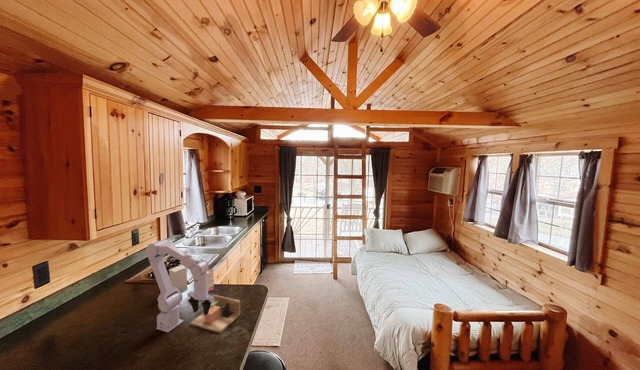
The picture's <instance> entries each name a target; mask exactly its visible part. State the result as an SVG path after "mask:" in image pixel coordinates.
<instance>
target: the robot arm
mask: <svg viewBox="0 0 640 370" xmlns="http://www.w3.org/2000/svg"><path fill="white" fill-rule="evenodd" d="M144 252H145V253H146V256H147V258H148V262H149V263H150V267H151V269H152V271H153V272H152V273H153V274H154V277H155V280H156V283H157V285H158V287H159V291H160V294H159V295H158V297H157V302H158V303H157V305H158V309H159V311H160V313H158V314H157V316H156V329H155V330H159V331H162V332H165V333H169V332H171V330H173V329H175V328H177V326H180V324H182V323H183V322H184V319H180V305H181V302H182V301H183V294H182V292H181V293H180V292H179V290H178V288H175V287H173V286H172V283H171V281H170V275H169V273H168V272H169V271H168V270H167V268H166V265H165V262H164V257H165V255H169V256H171V257H173V258H175V259H177V260H179V261H180V265H183V266H185V267H186V268H187V270H189V271H190V274H191V275H192V278H193V291H189V292H187V298H188V300H187V301H188V303H189V304H190V306H191V308H192V311H193V313H196V312H197V311H199V305H200V303H199V302H200V301H203V302H202V303H201V306H202V309H203V313H204V315H207V314H208V312H209V308H210V305H211V303H212V302H213V301H214V297H213V296H211V295H212V294H210V293H209V292H208V291H207V272H206V271H208V270H210V265H209V262H208V261H207V260H204V259H203V260H201V259H198V258H196V257H195V256H194V255H193V254H192V253H184V252H183V251H182V250H181V249H179V248H178V247H176V246H175V245H174V243H173V241H172V240H170V239H169V238H167V237H166V238H163V239H161V240H157V241H155V242H152V243H149V244H148V245H147V246H146V248H145V251H144Z"/></svg>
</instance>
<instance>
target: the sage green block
mask: <svg viewBox="0 0 640 370" xmlns="http://www.w3.org/2000/svg"><path fill="white" fill-rule="evenodd" d="M213 306H218V307H220V300H215V299H214V301H213V302H212V303H211V305H210V308H209V309H211V308H212V307H213Z"/></svg>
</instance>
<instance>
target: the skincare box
mask: <svg viewBox="0 0 640 370" xmlns="http://www.w3.org/2000/svg"><path fill="white" fill-rule="evenodd" d="M187 270H188V268H186V267H185V266H183V265H182V264H180V265H178V266H175V267H173V268H170V269H168V272H169V273H168V275H169V278H170V281H171V283H172V286H173V287H175V288H178V290H179V292H180V293H181V294H182V293H183V292H185V291H187V290H189V289H188V271H187Z"/></svg>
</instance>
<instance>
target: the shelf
mask: <svg viewBox="0 0 640 370" xmlns="http://www.w3.org/2000/svg"><path fill="white" fill-rule="evenodd" d="M210 295H211V296H213V297H214V299H215V300H220V307H223V306H224V305H225V304H226V303H229V311H232V312H234V313H233V314H232V315H231V316H230V317H229V318H225V317H221V316H220V317H219V318H217V319H216V320H215V321H214V322H213V323H212V324H210V323H207V322H205V315H204V312H203V313H201V314H200V315H199V316H198V317H196V318H195V319H194V320H192V321H191V322H190V326H193V327H198V328H200V329H204V330H206V331H207V330H208V331H210V332H215V333H217V334H221V333H223V331H224V330H226V329H227V328H228V327H229V326H230V325H231V324H232V323H233V322H234V321H235V320H237V318H238V317H240V315H241V300H239V299H235V298H231V297H226V296H222V295H219V294H210Z"/></svg>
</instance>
